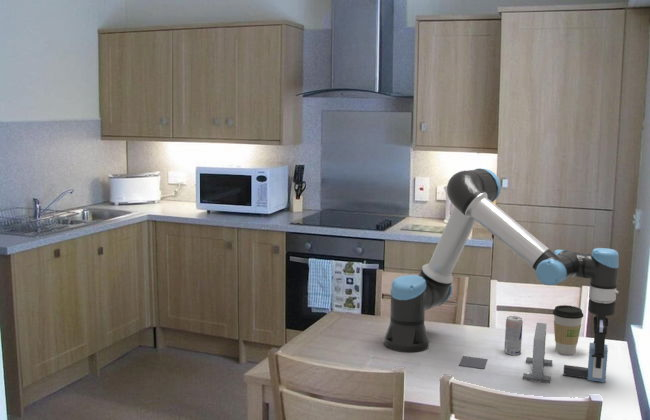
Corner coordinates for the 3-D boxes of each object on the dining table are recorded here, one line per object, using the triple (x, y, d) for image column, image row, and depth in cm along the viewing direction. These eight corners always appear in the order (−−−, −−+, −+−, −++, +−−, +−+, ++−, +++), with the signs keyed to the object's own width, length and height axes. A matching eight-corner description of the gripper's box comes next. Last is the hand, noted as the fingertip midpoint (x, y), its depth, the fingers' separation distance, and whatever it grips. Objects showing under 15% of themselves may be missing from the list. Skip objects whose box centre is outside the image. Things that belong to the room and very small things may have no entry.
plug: (563, 376, 219) (565, 345, 218) (563, 370, 224) (565, 339, 223) (605, 382, 215) (607, 350, 214) (604, 375, 220) (607, 344, 219)
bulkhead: (522, 379, 217) (525, 338, 215) (526, 360, 234) (528, 321, 232) (550, 383, 214) (552, 341, 213) (552, 363, 231) (554, 324, 229)
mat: (458, 365, 228) (458, 365, 228) (462, 356, 236) (462, 355, 236) (484, 369, 225) (484, 368, 225) (487, 359, 234) (487, 358, 234)
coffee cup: (582, 357, 237) (586, 314, 234) (551, 355, 239) (554, 311, 236) (578, 348, 246) (581, 305, 244) (548, 345, 248) (551, 303, 246)
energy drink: (522, 351, 242) (524, 317, 240) (519, 356, 237) (521, 321, 235) (506, 349, 244) (507, 315, 242) (502, 353, 239) (504, 319, 238)
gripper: (617, 309, 205) (611, 386, 208) (614, 293, 222) (608, 365, 226) (589, 306, 207) (584, 383, 211) (588, 291, 225) (583, 362, 228)
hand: (596, 373), depth 218 cm, fingers closed on plug, 5 cm apart
